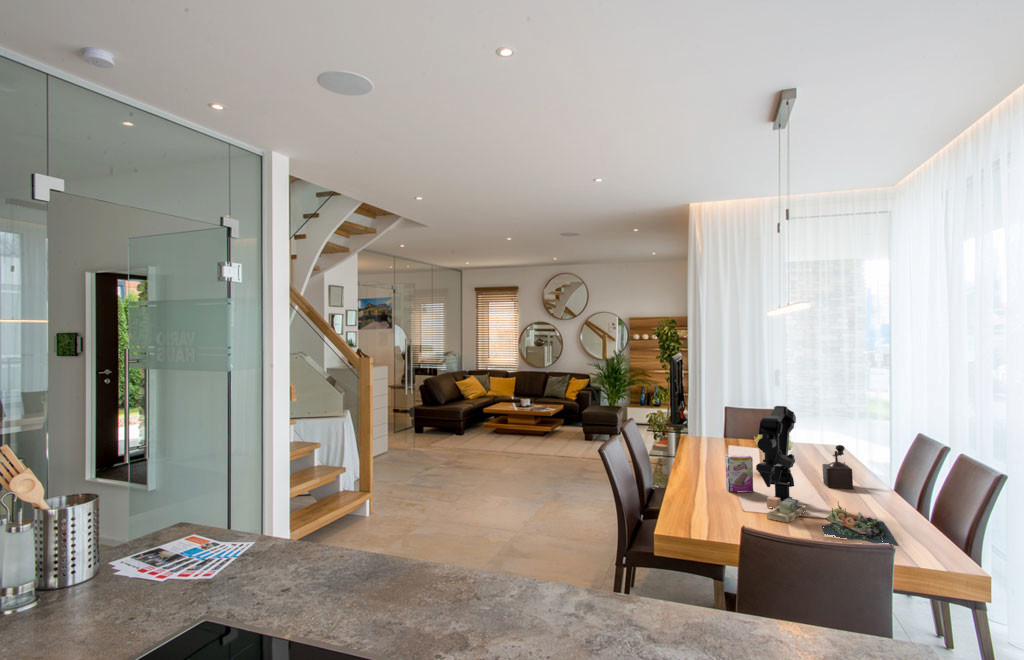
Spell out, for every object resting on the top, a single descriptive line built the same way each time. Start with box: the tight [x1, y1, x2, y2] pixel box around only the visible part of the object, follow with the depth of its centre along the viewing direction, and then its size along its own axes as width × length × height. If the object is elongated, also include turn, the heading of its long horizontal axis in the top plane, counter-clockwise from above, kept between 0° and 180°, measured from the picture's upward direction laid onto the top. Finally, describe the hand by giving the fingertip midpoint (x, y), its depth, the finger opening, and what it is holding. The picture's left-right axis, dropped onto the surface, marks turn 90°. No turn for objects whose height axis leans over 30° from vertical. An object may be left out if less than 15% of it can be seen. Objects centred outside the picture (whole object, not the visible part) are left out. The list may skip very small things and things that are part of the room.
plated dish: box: [821, 501, 900, 547], centre depth 200 cm, size 35×28×7 cm
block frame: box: [766, 498, 807, 524], centre depth 217 cm, size 19×8×5 cm, turn 133°
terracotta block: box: [766, 496, 781, 508], centre depth 227 cm, size 4×4×4 cm
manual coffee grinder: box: [821, 444, 854, 490], centre depth 259 cm, size 16×11×18 cm
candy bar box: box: [724, 454, 754, 493], centre depth 252 cm, size 11×5×16 cm, turn 84°
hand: (773, 484), depth 227 cm, fingers open, 9 cm apart
